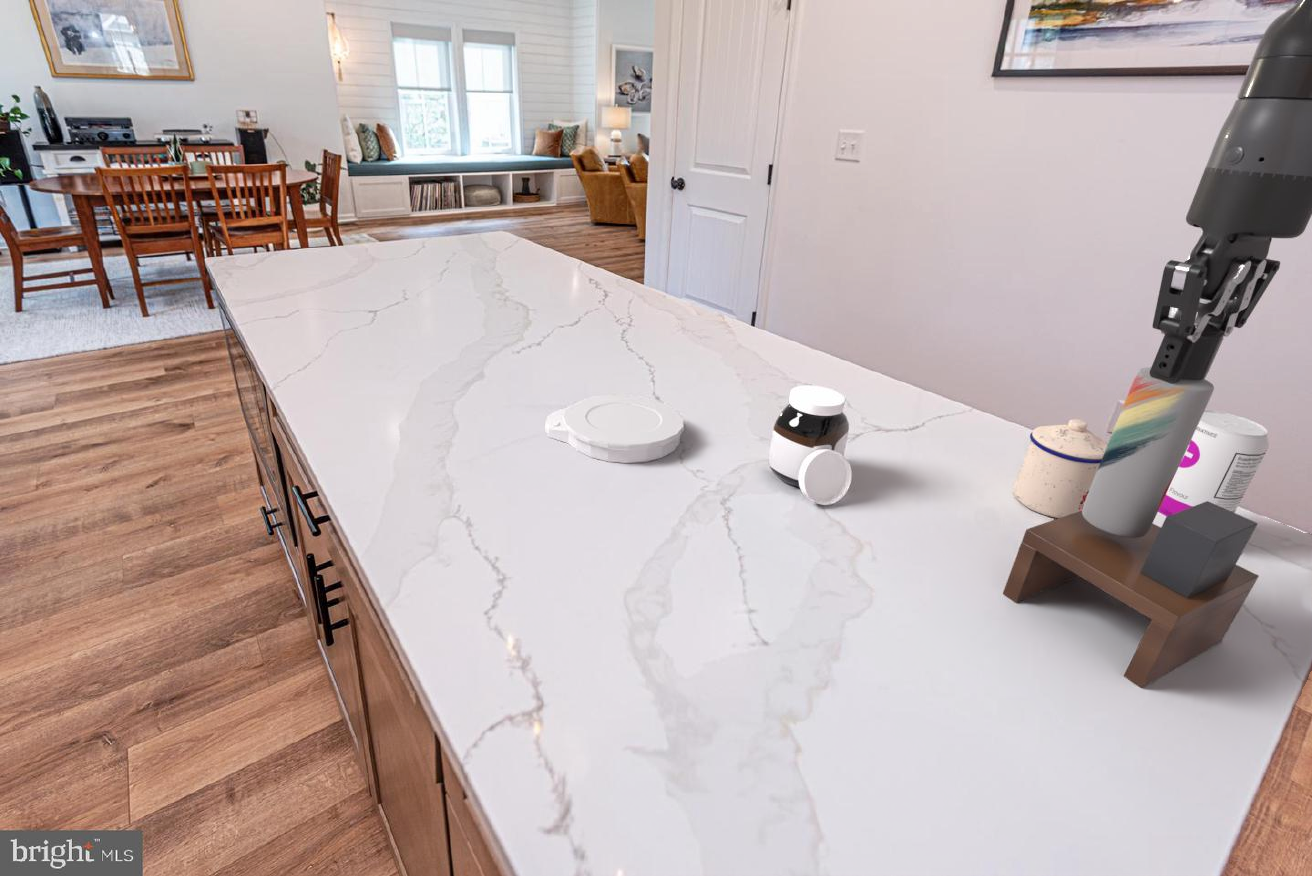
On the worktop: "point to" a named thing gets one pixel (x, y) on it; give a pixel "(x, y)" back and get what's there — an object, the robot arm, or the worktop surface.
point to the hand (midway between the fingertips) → (1177, 376)
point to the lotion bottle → (1150, 444)
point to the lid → (618, 428)
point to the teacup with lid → (1059, 468)
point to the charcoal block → (1197, 548)
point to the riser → (1129, 590)
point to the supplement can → (1216, 464)
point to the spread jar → (812, 444)
